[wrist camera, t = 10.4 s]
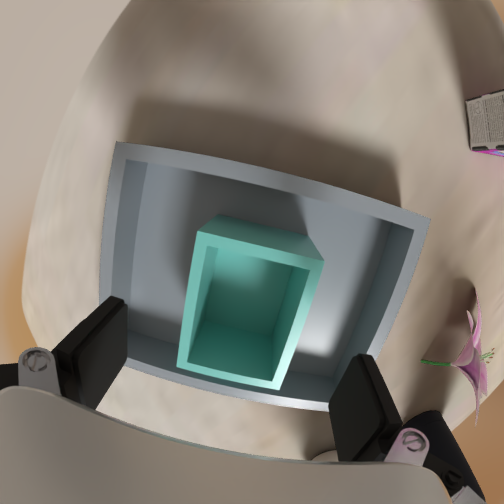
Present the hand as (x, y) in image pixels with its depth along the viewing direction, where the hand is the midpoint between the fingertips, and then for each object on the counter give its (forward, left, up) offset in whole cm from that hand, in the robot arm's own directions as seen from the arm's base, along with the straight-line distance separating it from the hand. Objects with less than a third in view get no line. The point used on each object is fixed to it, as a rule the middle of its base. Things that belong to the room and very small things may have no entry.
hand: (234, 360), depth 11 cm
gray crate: (+1, 0, -11) cm, 11 cm away
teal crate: (+1, 0, -10) cm, 10 cm away
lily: (+2, +21, -12) cm, 24 cm away
